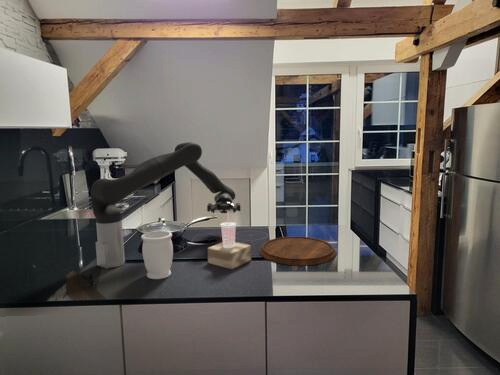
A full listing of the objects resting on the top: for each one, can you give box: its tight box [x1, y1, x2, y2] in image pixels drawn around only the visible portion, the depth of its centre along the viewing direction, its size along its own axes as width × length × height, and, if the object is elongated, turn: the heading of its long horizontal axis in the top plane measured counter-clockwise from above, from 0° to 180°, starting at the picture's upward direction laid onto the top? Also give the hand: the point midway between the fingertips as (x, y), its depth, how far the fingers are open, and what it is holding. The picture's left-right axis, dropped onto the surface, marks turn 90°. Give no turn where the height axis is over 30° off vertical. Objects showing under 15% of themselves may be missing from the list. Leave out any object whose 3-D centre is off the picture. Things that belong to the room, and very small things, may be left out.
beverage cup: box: [220, 211, 237, 248], centre depth 144 cm, size 6×6×14 cm
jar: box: [141, 230, 174, 280], centre depth 132 cm, size 11×10×15 cm
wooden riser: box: [207, 241, 252, 270], centre depth 145 cm, size 12×12×6 cm
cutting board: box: [258, 236, 337, 266], centre depth 156 cm, size 32×32×3 cm
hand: (223, 210), depth 155 cm, fingers open, 8 cm apart
